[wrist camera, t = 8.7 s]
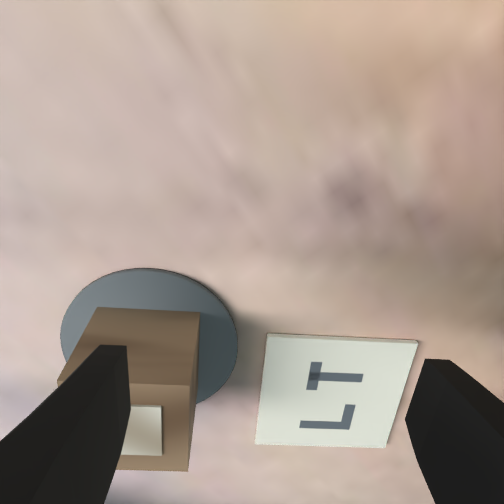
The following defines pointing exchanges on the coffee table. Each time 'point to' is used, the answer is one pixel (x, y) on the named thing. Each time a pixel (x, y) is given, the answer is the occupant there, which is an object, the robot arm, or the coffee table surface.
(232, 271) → the coffee table surface
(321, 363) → the tile
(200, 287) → the slate coaster
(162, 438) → the walnut block
